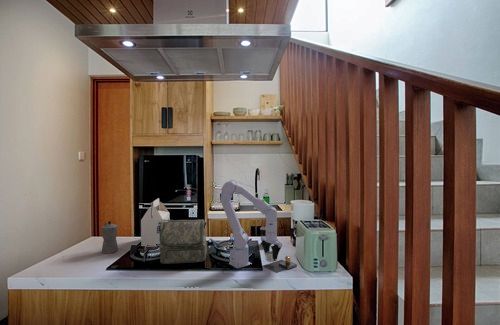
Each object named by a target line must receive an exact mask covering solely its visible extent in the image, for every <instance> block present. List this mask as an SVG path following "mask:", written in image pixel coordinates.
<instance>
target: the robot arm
mask: <svg viewBox="0 0 500 325" xmlns="http://www.w3.org/2000/svg"><path fill="white" fill-rule="evenodd" d="M220 190H221V192H220V203H221V205H222V208H223V211H224V214H225V216H226V218H227V220H228V223H229V226H230V228H231V231H232V237H233V245H234V246H233V248H232V249H230V251H229V263H228V265H230V266H232V267H234V268H236V269H241V268H244V267H247V266H250V264H251V265H252V264H253V263H252V262H250V261H249V245H248V242H249V240H250V238H249V235H248V233H247V232H246V231H245V230H244V228H243V227H242V225H241V223H240V219H239V217H238V215H237V213H236V210H235V207H234V205H233V202H232V198H233V195H234V194H235V195H241V196H242V197H244V198H245V199H247V200H248V201H249V202H251V204H252V205H253V208H254V209H256V210H257V211H258V212H260V213H261V214H262V215H264V216H265V218H266V221H265V227H266V237H265V236H262V237H261V236H260V241H261V242H260V244H261V246H262V249H263V252H264V255H265V254H266V252H267V251H272V253H273V260H275V259H277V260H278V256H279V252H280V251H281V249H282V247H283V242H281V241H280V240H279V238H278V236H277V235H278V218H277V217H278V210H277V209H276V208H275V206H273V205H272V204H269V203H268V202H266V200H265V199H264V198H261V197H259V198H258V197H256V196H255V195H254V194H253V193H252V192H250V191H249V190H248V189H246V188H245V187H244V186H243V185H242V184H240V183H238V182H237V180H234V179H231V180H228V181H226V182H225V183H223V185H222V187H221V189H220ZM262 241H263V242H262ZM271 244H272V246H271Z"/></svg>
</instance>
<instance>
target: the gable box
mask: <svg viewBox="0 0 500 325" xmlns="http://www.w3.org/2000/svg"><path fill="white" fill-rule="evenodd" d="M149 205H150V207H149V208H147V211H146V212H145V213H144V215H143V216H142V218H141V219H140V245H141V246H147V245H156V244H160V233H157V226H160V224H159V222H160V221H161V222H162V221H163V220H164V219H165V220H171V219H170V212H169V211H168V208H167V207H166V206H165V204H164V203H163V202H162V201H160V198H159V197H157V198H156V199H155V200H152V202H150V204H149Z"/></svg>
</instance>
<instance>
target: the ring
mask: <svg viewBox="0 0 500 325" xmlns="http://www.w3.org/2000/svg"><path fill="white" fill-rule="evenodd" d="M264 256H265V261H266V262H270V263H273V262H276V261H278V258H277V259H275V260H273V253H272V250H270V251H267V252H266V254H265V253H264Z"/></svg>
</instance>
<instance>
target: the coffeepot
mask: <svg viewBox="0 0 500 325" xmlns="http://www.w3.org/2000/svg"><path fill="white" fill-rule="evenodd" d="M100 228H101V229H100V230H101V235H102V239H103V242H102V247H101V254H104V255H111V254H115V253H118V251H119V248H118V241H117V235H118V229H119V224H114V223H112V221H109V220H108V221H107V223H104V225H102V226H101V227H100Z"/></svg>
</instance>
